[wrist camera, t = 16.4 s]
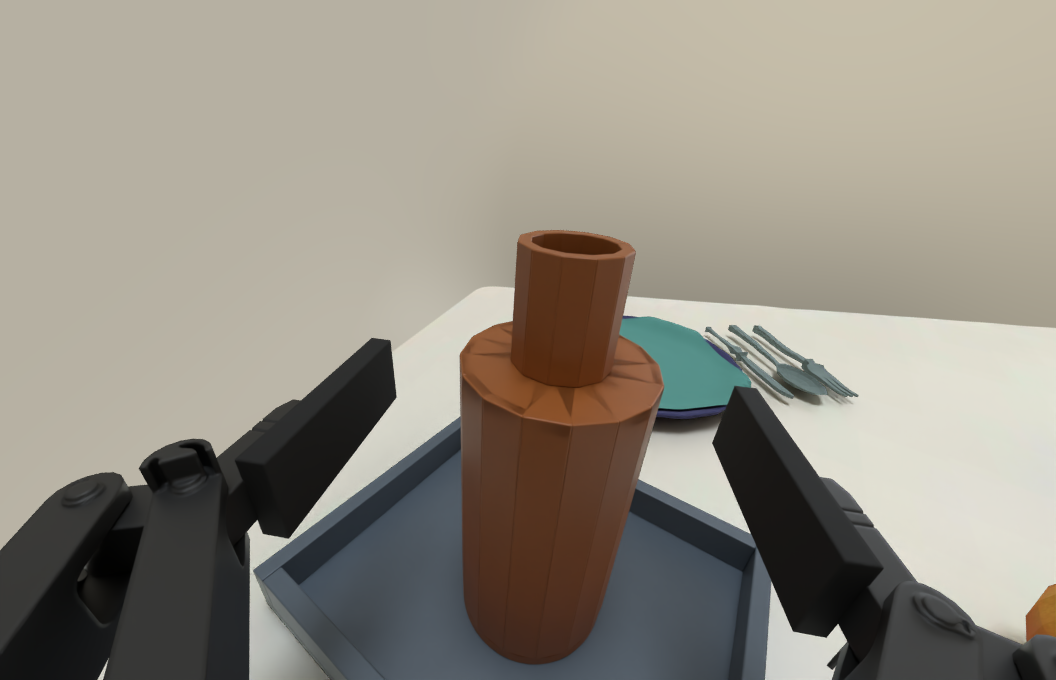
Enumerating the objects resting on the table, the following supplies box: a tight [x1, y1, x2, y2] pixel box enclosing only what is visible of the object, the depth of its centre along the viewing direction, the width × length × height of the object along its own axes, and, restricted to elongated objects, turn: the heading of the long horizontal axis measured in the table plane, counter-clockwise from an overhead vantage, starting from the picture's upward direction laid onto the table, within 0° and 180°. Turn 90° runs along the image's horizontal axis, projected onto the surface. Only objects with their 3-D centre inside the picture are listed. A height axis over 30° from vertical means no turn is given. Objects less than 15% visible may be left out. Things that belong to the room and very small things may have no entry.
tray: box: [253, 416, 771, 680], centre depth 19 cm, size 20×16×3 cm
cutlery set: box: [619, 316, 859, 419], centre depth 40 cm, size 20×30×2 cm, turn 97°
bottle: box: [460, 230, 664, 664], centre depth 15 cm, size 7×7×17 cm
